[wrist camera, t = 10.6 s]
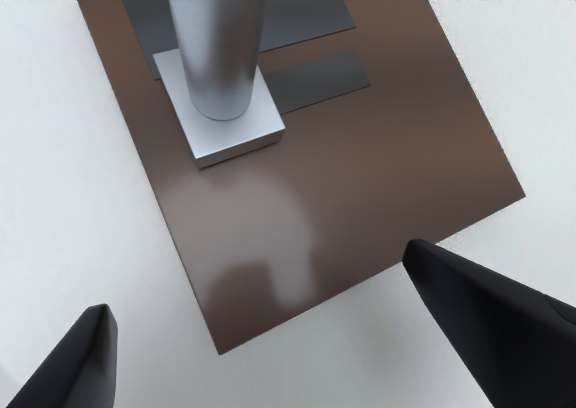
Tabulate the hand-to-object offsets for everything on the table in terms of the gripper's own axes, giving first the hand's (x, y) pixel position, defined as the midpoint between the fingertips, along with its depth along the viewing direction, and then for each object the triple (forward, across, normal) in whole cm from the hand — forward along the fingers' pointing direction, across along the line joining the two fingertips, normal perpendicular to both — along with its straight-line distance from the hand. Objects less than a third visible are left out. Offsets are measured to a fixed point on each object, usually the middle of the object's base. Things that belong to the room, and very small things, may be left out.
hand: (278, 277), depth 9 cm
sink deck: (+11, -6, -1) cm, 12 cm away
